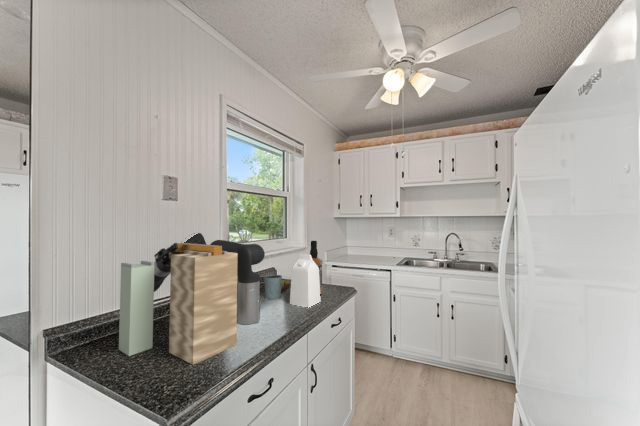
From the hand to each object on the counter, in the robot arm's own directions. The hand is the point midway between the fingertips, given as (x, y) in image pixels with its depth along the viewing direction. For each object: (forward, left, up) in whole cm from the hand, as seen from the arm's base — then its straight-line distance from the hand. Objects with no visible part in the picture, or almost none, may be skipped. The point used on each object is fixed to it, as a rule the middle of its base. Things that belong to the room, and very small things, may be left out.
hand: (186, 244), depth 100 cm
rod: (-5, +5, -3) cm, 8 cm away
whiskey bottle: (-52, -59, -35) cm, 86 cm away
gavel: (-35, -71, -35) cm, 87 cm away
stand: (-9, +8, -35) cm, 37 cm away
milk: (-46, -40, -35) cm, 70 cm away
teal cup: (-28, -54, -35) cm, 70 cm away
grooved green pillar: (+14, +5, -35) cm, 38 cm away
